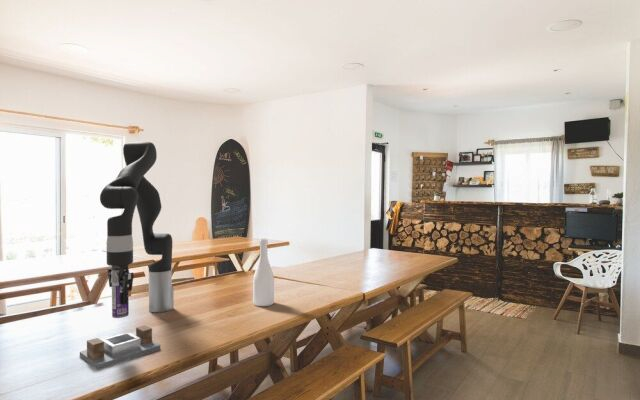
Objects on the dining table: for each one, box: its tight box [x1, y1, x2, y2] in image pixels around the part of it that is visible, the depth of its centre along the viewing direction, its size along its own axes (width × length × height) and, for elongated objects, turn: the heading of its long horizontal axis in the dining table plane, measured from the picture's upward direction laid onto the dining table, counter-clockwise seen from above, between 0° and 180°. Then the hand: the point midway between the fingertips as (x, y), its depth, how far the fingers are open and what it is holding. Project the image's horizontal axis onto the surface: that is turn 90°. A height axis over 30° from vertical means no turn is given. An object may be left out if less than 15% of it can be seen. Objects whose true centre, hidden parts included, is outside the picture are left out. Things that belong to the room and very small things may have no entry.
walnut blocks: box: [86, 324, 153, 360], centre depth 124 cm, size 18×5×4 cm, turn 140°
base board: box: [79, 340, 161, 371], centre depth 124 cm, size 19×14×2 cm
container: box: [111, 269, 130, 319], centre depth 124 cm, size 5×5×15 cm
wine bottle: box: [252, 238, 275, 307], centre depth 178 cm, size 10×10×30 cm
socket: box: [100, 331, 141, 356], centre depth 124 cm, size 9×9×3 cm
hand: (120, 302), depth 124 cm, fingers closed on container, 4 cm apart
